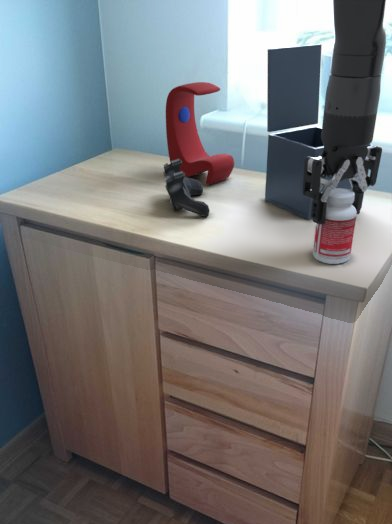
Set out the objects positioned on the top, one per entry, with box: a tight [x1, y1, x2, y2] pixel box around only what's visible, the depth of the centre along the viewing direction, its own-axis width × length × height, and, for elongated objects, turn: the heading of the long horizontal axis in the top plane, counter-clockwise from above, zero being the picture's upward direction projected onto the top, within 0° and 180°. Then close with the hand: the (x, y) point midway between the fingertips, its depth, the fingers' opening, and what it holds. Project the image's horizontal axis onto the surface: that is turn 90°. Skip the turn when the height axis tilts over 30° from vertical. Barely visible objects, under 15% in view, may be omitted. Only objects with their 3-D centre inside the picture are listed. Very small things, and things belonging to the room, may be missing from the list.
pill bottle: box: [312, 188, 358, 265], centre depth 91 cm, size 6×6×11 cm
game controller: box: [163, 159, 211, 217], centre depth 114 cm, size 16×7×10 cm, turn 5°
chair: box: [165, 81, 235, 186], centre depth 126 cm, size 15×7×20 cm, turn 47°
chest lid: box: [266, 43, 322, 133], centre depth 109 cm, size 14×13×1 cm
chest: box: [264, 125, 353, 220], centre depth 112 cm, size 14×13×13 cm
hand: (336, 217), depth 90 cm, fingers open, 7 cm apart
